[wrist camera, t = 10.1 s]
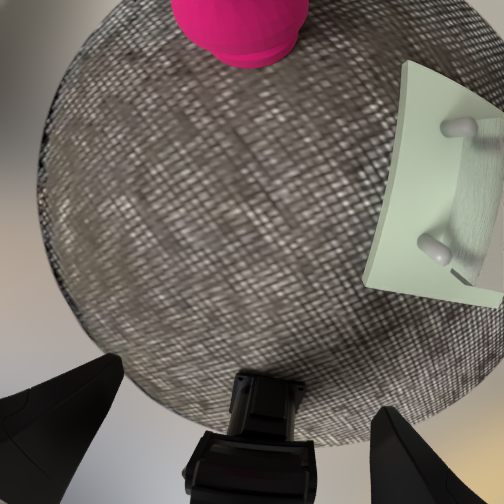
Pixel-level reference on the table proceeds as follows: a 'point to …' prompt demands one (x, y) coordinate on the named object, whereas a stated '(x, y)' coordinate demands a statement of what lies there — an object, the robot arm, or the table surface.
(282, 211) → the table surface
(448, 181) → the pale green peg board
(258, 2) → the pepper mill
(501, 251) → the block
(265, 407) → the robot arm
